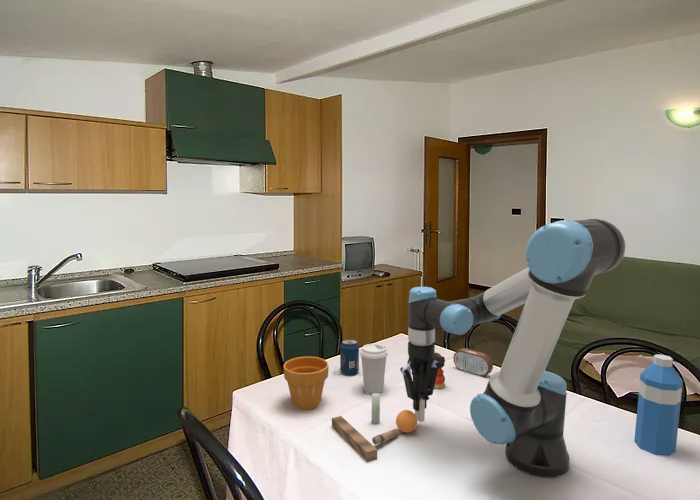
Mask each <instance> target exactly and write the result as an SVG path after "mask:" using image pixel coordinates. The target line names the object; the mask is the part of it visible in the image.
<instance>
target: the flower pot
mask: <svg viewBox="0 0 700 500" xmlns="http://www.w3.org/2000/svg"><path fill="white" fill-rule="evenodd" d="M328 376H329V362H328V361H327V360H326V359H324V358H321V357H319V356H299V357H294V358H291V359H289V360H287V361H285V363H284V364H283V377H284V379H285V381H286V382H287V386H288V391H289V394H290V397H291V398H290V399H291V402H292V405H293V406H294V407H295V408H297V409H301V410H310V409H314V408H316V407H318V406H319V405H320V404H321V402H322V401H321V400H322V395H323V391H324V386H325V383H326V382H325V381H326V380H327V378H328Z"/></svg>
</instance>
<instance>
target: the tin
mask: <svg viewBox="0 0 700 500" xmlns="http://www.w3.org/2000/svg"><path fill="white" fill-rule="evenodd" d="M453 363H454V365H455V367H456V368H457V369H458V370H460V371H462V372H465V373H469V374H472V375H475V376H477V377H486V376H487V375H490V373H492V371H493V369H494V362H493V361H492V359H491V357H490V356H489V355H487V354H486V353H484V352H480V351H477V350H472V349H469V348H465V347H461V348H459V349H458V350H457V351H456V352H454V354H453Z"/></svg>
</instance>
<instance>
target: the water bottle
mask: <svg viewBox="0 0 700 500" xmlns="http://www.w3.org/2000/svg"><path fill="white" fill-rule="evenodd" d="M652 361H653V362H652V363H651V364H650V365H649V366H648V367H646V368H645V369H644V370H643V371H642V372H640V376H639V377H640V378H639V384H638V385H639V387H638V388H639V389H638V397H637V399H638V400H637V409H636V419H635V420H636V421H635V429H634V430H635V432H634V439H633V440H634V443H635V444H636V446H638V448H639V449H641V450H643V451H645V452H648V453H650V454H652V455H656V456H657V455H658V456H667V457H670V456H672V455H673V454H675V452H677V451H676V450H677V441H678V431H679V422H680V412H681V402H682V393H683V386H684V385H683V383H684V381H683V379H682V378H681V376H680V375H679V373H678V372H677V371H676V369H675V368H674V367H673V361H674V358H672V357H671V356H669V355H665V354H658V353H657V354H654V355H653V360H652Z"/></svg>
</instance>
